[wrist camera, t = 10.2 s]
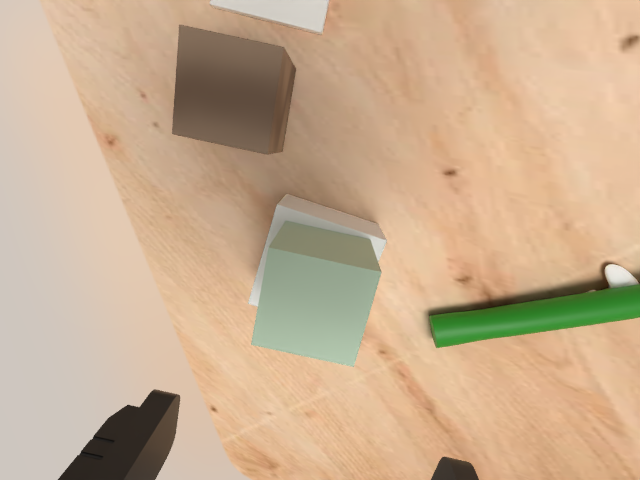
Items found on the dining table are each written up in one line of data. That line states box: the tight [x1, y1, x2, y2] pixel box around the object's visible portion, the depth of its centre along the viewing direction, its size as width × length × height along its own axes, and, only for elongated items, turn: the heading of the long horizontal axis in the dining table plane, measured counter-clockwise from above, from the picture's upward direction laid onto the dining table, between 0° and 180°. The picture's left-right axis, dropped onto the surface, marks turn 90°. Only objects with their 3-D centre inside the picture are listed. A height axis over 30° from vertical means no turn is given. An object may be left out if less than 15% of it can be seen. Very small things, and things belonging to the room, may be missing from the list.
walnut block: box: [172, 25, 296, 154], centre depth 22 cm, size 6×6×6 cm
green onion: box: [429, 264, 640, 348], centre depth 27 cm, size 5×3×30 cm
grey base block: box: [248, 194, 387, 307], centre depth 26 cm, size 8×8×5 cm
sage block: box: [251, 221, 381, 367], centre depth 21 cm, size 6×6×6 cm
